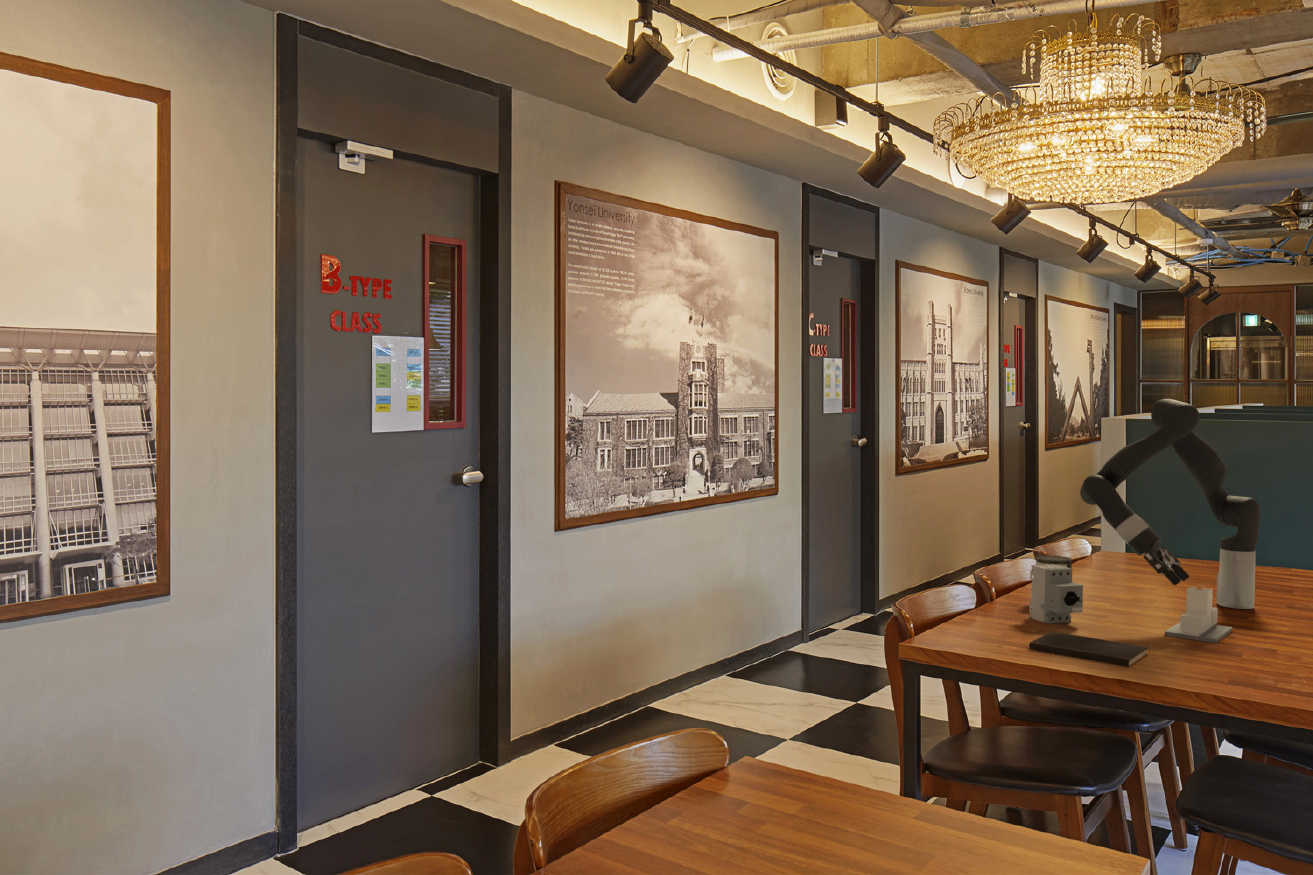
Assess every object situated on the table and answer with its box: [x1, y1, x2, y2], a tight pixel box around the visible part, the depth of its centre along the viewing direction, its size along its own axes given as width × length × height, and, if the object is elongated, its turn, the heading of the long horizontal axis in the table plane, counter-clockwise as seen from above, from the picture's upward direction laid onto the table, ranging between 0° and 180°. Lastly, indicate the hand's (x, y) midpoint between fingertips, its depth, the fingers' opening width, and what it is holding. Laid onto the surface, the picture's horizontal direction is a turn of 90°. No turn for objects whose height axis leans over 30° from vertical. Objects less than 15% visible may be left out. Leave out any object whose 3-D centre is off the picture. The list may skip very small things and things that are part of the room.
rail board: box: [1164, 606, 1233, 644], centre depth 256 cm, size 18×12×6 cm, turn 138°
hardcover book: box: [1028, 631, 1149, 668], centre depth 236 cm, size 16×23×2 cm
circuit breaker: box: [1028, 564, 1084, 625], centre depth 267 cm, size 8×14×15 cm, turn 15°
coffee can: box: [1035, 555, 1073, 570], centre depth 292 cm, size 10×10×14 cm
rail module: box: [1185, 584, 1214, 629], centre depth 256 cm, size 5×5×11 cm
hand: (1182, 581), depth 258 cm, fingers open, 8 cm apart
